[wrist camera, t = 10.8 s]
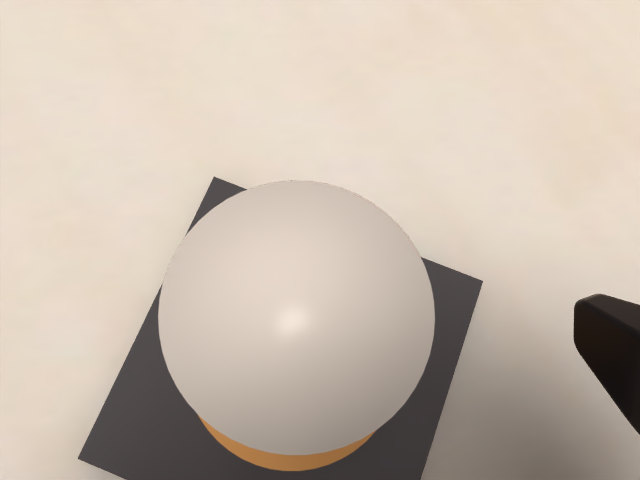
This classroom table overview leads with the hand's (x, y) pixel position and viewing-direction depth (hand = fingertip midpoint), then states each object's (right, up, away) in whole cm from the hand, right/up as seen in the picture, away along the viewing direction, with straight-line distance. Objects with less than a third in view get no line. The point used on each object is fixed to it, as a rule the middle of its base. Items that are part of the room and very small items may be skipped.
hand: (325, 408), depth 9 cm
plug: (-1, -1, +10) cm, 10 cm away
